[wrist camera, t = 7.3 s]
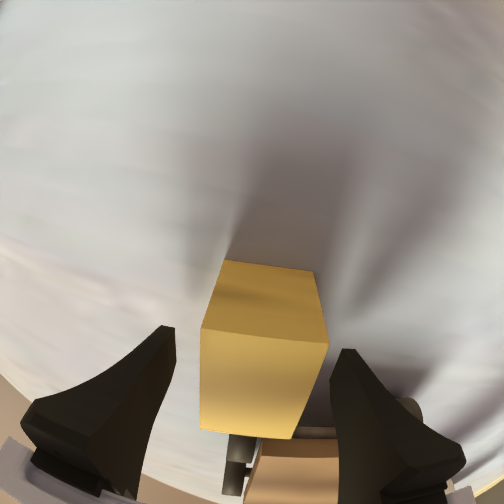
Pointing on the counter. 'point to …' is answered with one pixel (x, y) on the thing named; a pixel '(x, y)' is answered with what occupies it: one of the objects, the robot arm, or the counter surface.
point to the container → (449, 487)
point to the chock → (260, 350)
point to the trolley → (289, 466)
